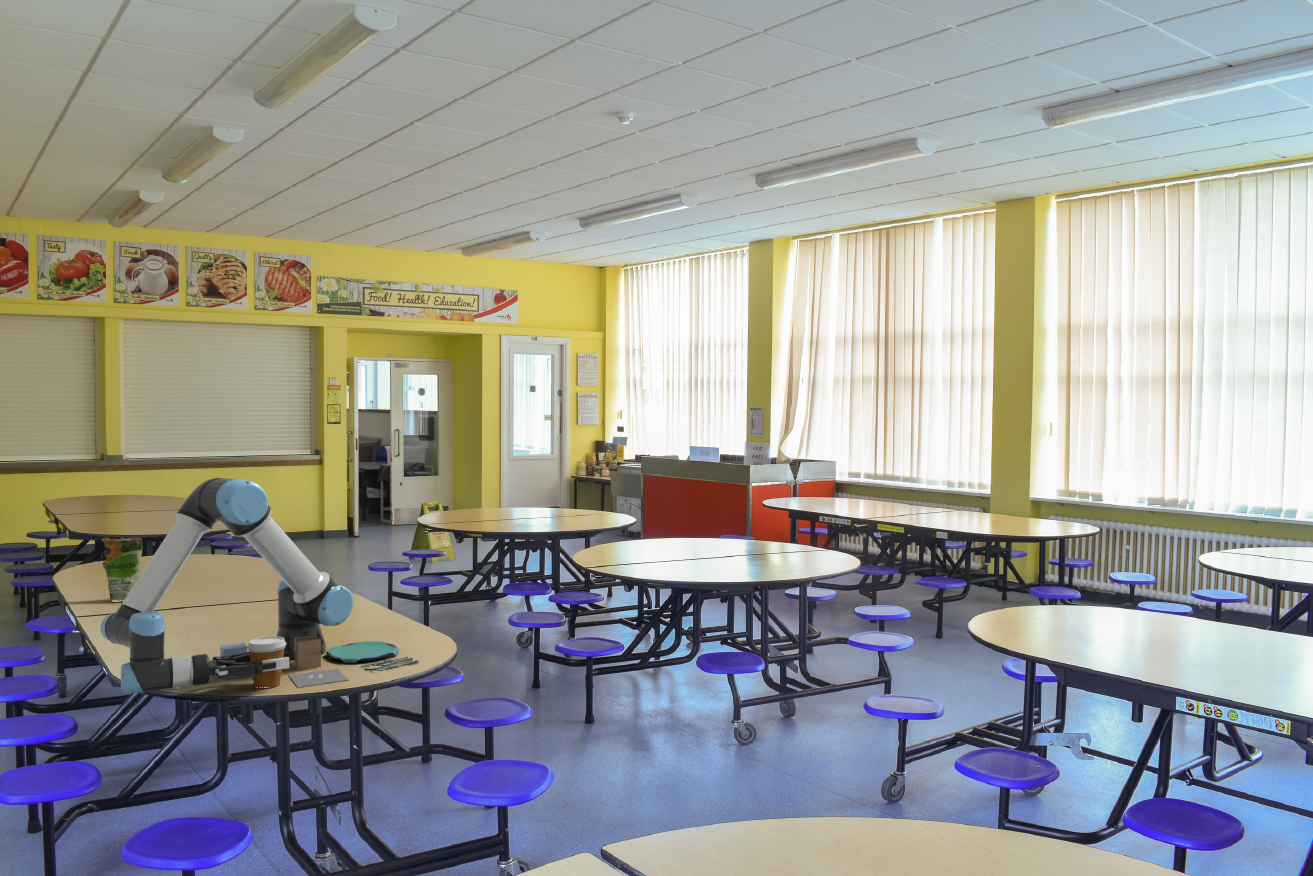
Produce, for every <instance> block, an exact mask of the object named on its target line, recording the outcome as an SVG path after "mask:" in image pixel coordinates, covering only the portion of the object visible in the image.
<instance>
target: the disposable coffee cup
mask: <svg viewBox="0 0 1313 876" xmlns="http://www.w3.org/2000/svg"><path fill="white" fill-rule="evenodd" d="M246 646H247V651H248V652H250V659H251V662H262V660H270V659H278V658H283V655H284V648H285V646H286V642H285V640H284V638H282V637H276V636H264V637H256V638H253V639H250V640H249V642H248V645H246ZM282 670H283V669H278V670H271V671H263V675H258V674H257V675H252V678H253V679H252V680H253V687H254V688H255V687H258V688H257V689H259V688H260V687H261V688H262V687H263V688H264V687H273V688H275V687H274V686H276V687H278V686H280V685H279V684H281V680H282V679H281V678H282ZM277 685H278V686H277Z"/></svg>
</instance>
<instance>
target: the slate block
mask: <svg viewBox="0 0 1313 876" xmlns="http://www.w3.org/2000/svg"><path fill="white" fill-rule="evenodd" d="M247 646H248V645H247V644H246V642H245V641H244V642H243V641H242V642H233V643H225V644H220V648H219V649H220V656H226V655H232V654H238V653H244V652H248V648H247ZM233 678H239V677H238V676H234V677H233ZM222 679H232V678H231V677H226V678H222Z"/></svg>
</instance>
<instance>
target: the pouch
mask: <svg viewBox="0 0 1313 876" xmlns="http://www.w3.org/2000/svg"><path fill="white" fill-rule="evenodd" d="M101 541H102V543H104V544H103V545H104V548H105V553H104V556H105V560H104V561H103V562H102V568H104V570H105V574H106V578H107V585H108V587H107V589H108V591H109V593H108V594H109V600H110V601H111V600H118V601H119V600H125V598H126V597H127V595H128V594H129V592H130V591H131V589H132V588H133V586H134V585H135V583H136V582H137V580H138V579H139V577H140V576H141V574H142V573H143V566H142V554H143V547H144V544H143V539H142V538H141V537H129V538H124V537H122V536H120V539H119V538H118V539H117V538H112V539H111V538H108V537H104V538H101Z"/></svg>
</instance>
